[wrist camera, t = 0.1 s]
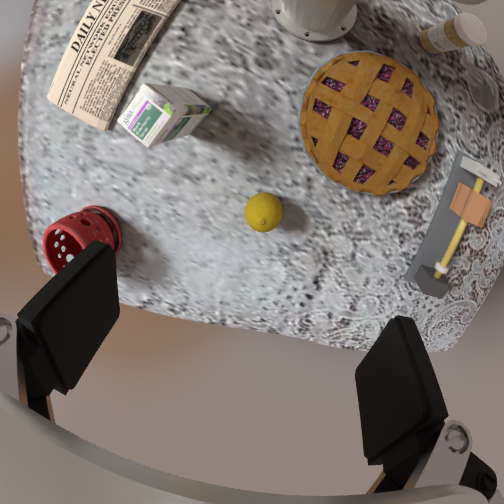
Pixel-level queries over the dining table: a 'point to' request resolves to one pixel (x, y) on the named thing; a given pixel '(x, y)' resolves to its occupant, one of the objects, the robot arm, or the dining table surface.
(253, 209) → the lemon
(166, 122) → the syrup box
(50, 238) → the plant pot
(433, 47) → the sprinkles bottle
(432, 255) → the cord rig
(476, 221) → the sleeve
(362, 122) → the pie
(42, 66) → the dining table surface
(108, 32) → the newspaper
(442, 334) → the dining table surface
